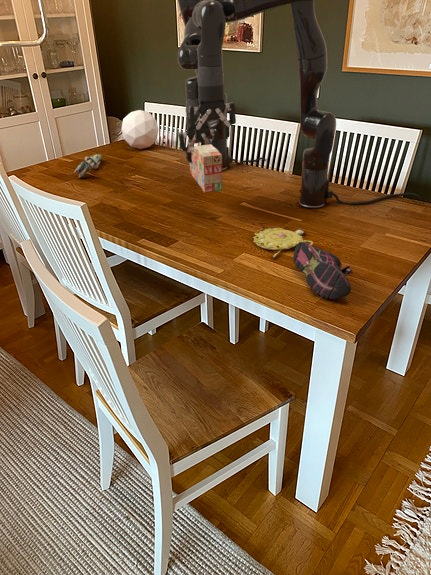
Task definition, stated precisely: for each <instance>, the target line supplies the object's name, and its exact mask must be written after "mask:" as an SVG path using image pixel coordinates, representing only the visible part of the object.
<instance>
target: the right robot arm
mask: <svg viewBox="0 0 431 575" xmlns="http://www.w3.org/2000/svg"><path fill="white" fill-rule="evenodd" d="M285 5H290V10H291V16H292V23H293V32H294V41H295V52H296V64H297V65H296V66H297V67H296V68H297V75H298V85H299V102H300V103H299V104H300V106H299V108H300V109H299V112H300V114H299V117H300V118H299V122H300V129H301V133H302V135H303V136H304V137H306V138H310V139H313V140H315V142H314V145H313V146H311V147H307V148H305V149H304V150H303V153H302V154H303V155H302V168H301V179H300V189H299V202H298V203H299V205H300V206H301V207H304V208H306V209H320V208H323V207H324V206H327V204H328V200H329V199H333V197H334V198H335V200H336V202H337V203H339V204H343V205H349V206H357V205H359V206H360V205H367V204H372V203H375V202H378V201H382V200H386V199H389V198H394V197H395V198H396V197H406V196H408V197H409V196H412V197H415V198H417V199H418V200H422V197H421V196H420V195H418V194H417V193H413V192H404V193H402V192H401V193H392V194H388V195H385V196H381V197H376V198H374V199H371V200H365V201H364V200H363V201H353V202H348V201H343V200H341V199H340V197H339V196H338V194H336V193H335V192H334V191H333V190H332V189H330V188H329V187H330V179H328V174H329V166H330V158H331V157H330V156H331V153H332V151H333V147H334V143H335V142H334V141H335V135H336V129H337V118H336V115H335V114H334V113H332V112H330V111H326V110H319V107H318V92H319V90H320V88H321V86H322V83H323V81H324V79H325V77H326V74H327V72H328V49H327V42H326V40H325V37H324V35H323V32H322V30H321V27H320V25H319V23H318V20H317V16H316V10H315V0H204V1H201V2H199V3H198V4H197V5H196V6H195V8H194V10H193V13H192V19H193V22H194V24H195V26H196V27H197V28H199V29H200V30H202V33H201V43H200V44H199V45H198V49H197V55H198V79H197V82H198V96H199V104H198V106H191V105H190V106H189V107H188V125H189V126H190V127H191V128H194V129H195V138H196V140H197V141H198V142H199V143H200V142H201V130H200V128H201V126H202V124H203V123H204V122H205V121H206V120H208V121H209V122H211V121H215V120H218V119H219V118H220V119H221V121H222V122H223V123H224V139H225V140H226V139H227V140H229V138H230V136H231V131H230V130H231V126H232V125H235V124H236V123H237V119H236V118H237V117H236V104H235V103H234V102H232V101H228V103H227V104H225V103H224V92H225V74H224V66H223V64H224V63H223V62H224V58H223V56H224V55H223V45H224V41H225V40H224V39H225V34H226V27H227V26H226V24H228V23H231V22H232V23H233V22H234V23H235V22H240V21H242V20H246V19H248V18H251V17H254V16H257V15H259V14H262V13H264V12H267V11H270V10H273V9H276V8H279V7H281V6H282V7H283V6H285ZM225 108H227V112H228V116H229V119H228V118H227V119H226V117H225V116H224V115H223V112H224V110H225ZM197 110H198V111H199V112H200V116H199V117H198V120H197V122H196V123H195V124H194V114H196V111H197Z"/></svg>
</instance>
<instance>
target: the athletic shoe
mask: <svg viewBox="0 0 431 575" xmlns="http://www.w3.org/2000/svg"><path fill="white" fill-rule="evenodd" d="M292 261H293V264H294V266H295V267H296V269H298V270H299V271H300V272H302V273H304V274H305V276H306V282H307V285H308V286H309V288H310V289H312V292H313V293H314V294H315V295H317V296H319V297H321V298H324V299H330V300H337V299H341V298H346V297H348V296H349V295H350V294H351V292H352V287H351V284H350V282H349V280H348V278H347V277H346V275H351V274H354V272H353V269H352V268H351V266H350V265H347V266H345V267H343V266H342V265H343V264H342V261H341V260H340V258H339V257H338V256H336V255H334V254H333V253H331V252H329V251H327V250H323V249H321V248H318V247H315V246H313V245H312V246H310V243H308V242H299V243H298V244H297V245H296V246H295V247H294V252H293V256H292ZM342 267H343V268H342Z"/></svg>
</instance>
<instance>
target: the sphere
mask: <svg viewBox="0 0 431 575" xmlns="http://www.w3.org/2000/svg"><path fill="white" fill-rule="evenodd" d="M121 133H122V137H123V140H124V141H125V142H126V143H127V144H128V145H129V146H130V147H131V148H135V149H137V150H143V149H146V148H150V147H151V146H153V144H154V143H156V142H157V140H158V135H159V126H158V121H157V119H156V118H155V117H154V116H153V115H152V114H151V113H150V112H148V111H146V110H142V109H137V110H133V111H131V112H129V113H128V114H127V115H126V116H125V117H124V118H123V119H122V123H121Z"/></svg>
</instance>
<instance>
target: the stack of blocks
mask: <svg viewBox="0 0 431 575" xmlns="http://www.w3.org/2000/svg"><path fill="white" fill-rule="evenodd" d="M191 156H192V163H189V162H188V164H189V173H190V174H191V176H192V178H193V179H194V180H195V181H196V183H197V184H198V186H199V187H200V189H201V190H202V192H203V193H204V194H208V193H213V192H214V193H215V192H222V191H223V171H222V154H221V153H220V152H219V151H218V150H217V149H216V148H215V147H213V146H212V145H211V144H209V145H205V144H203V145H194V146H193V147H192V149H191Z"/></svg>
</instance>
